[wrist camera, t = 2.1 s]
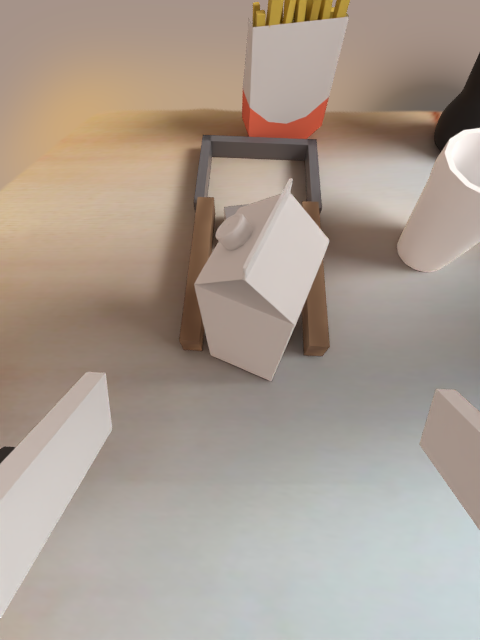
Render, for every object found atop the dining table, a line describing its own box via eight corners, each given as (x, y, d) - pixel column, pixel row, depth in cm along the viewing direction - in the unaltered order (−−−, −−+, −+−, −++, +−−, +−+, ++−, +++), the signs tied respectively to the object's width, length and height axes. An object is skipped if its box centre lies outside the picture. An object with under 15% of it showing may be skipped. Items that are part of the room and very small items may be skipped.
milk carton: (294, 325, 36) (348, 196, 19) (271, 382, 33) (309, 293, 16) (236, 302, 37) (237, 160, 20) (209, 355, 34) (183, 245, 17)
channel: (313, 218, 42) (318, 201, 40) (322, 356, 35) (329, 346, 32) (200, 214, 42) (197, 196, 40) (183, 349, 35) (179, 340, 32)
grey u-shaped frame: (312, 155, 47) (316, 139, 45) (317, 221, 42) (321, 208, 40) (204, 150, 47) (202, 134, 45) (196, 216, 42) (193, 202, 40)
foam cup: (370, 253, 40) (426, 165, 28) (406, 210, 43) (470, 114, 31) (440, 297, 38) (533, 220, 26) (472, 248, 41) (570, 160, 29)
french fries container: (241, 131, 49) (243, -34, 33) (308, 122, 50) (343, -43, 34) (248, 152, 47) (254, -13, 31) (317, 141, 49) (359, -23, 32)
